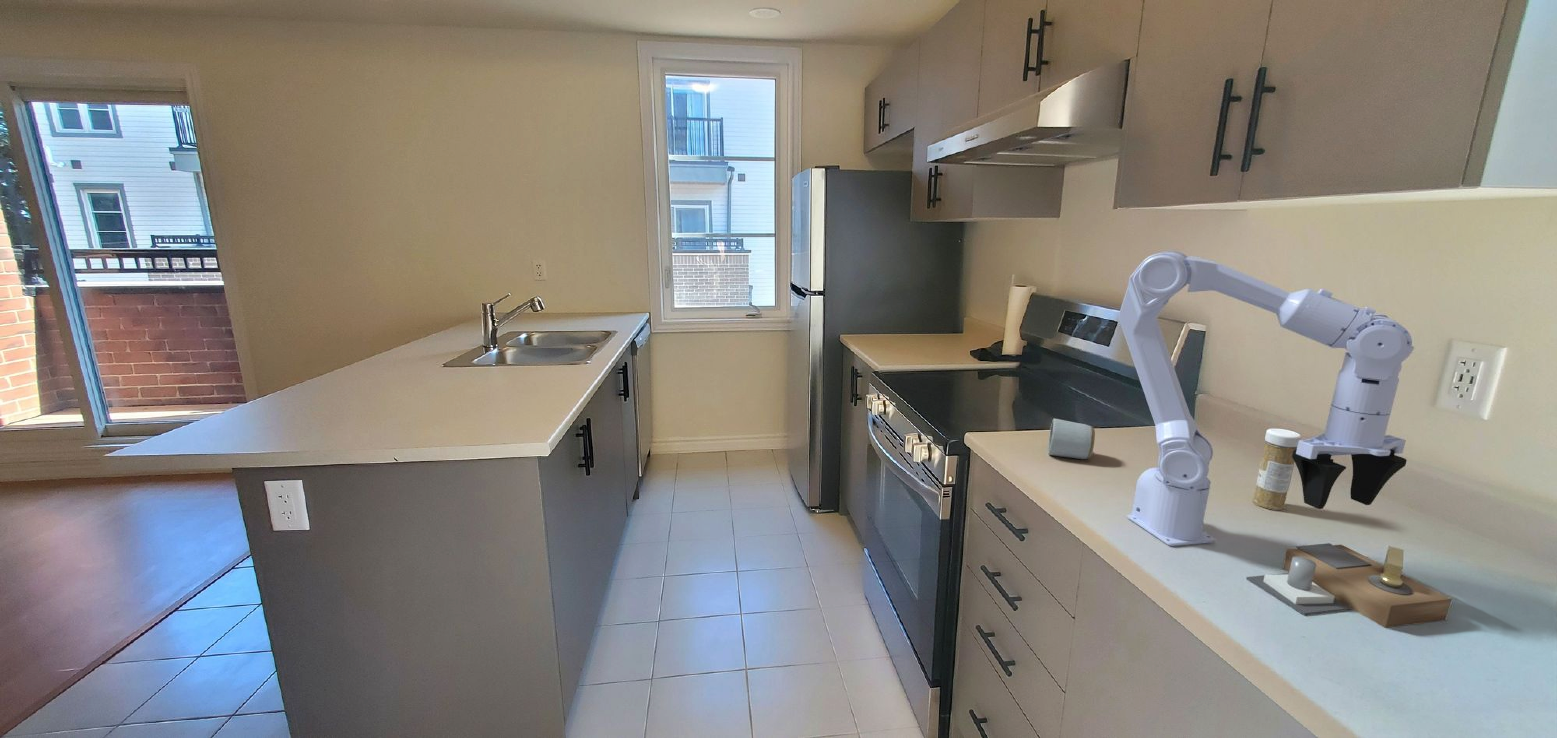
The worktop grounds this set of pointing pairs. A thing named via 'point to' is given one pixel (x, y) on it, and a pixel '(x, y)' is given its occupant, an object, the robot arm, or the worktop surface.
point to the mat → (1301, 608)
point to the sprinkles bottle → (1276, 468)
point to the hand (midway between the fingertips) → (1336, 503)
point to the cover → (1299, 583)
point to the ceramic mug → (1071, 439)
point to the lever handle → (1392, 568)
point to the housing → (1370, 587)
